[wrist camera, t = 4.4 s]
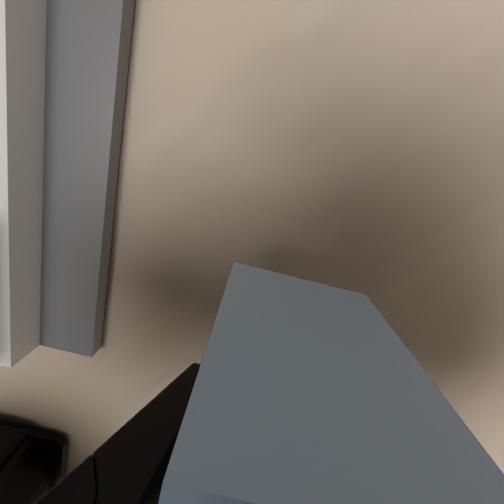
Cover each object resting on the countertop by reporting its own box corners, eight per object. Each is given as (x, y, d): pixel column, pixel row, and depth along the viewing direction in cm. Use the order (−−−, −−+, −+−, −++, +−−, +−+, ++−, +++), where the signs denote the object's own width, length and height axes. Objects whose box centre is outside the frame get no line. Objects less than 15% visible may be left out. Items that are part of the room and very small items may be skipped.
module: (306, 442, 10) (363, 844, 4) (196, 417, 10) (93, 794, 4) (366, 294, 8) (617, 624, 2) (234, 261, 8) (148, 522, 2)
